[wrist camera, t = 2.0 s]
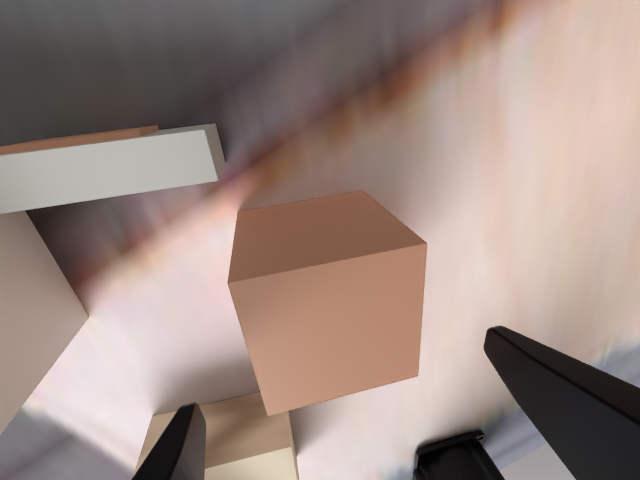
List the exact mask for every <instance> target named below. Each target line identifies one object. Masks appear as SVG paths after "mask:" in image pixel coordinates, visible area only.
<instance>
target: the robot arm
mask: <svg viewBox="0 0 640 480" xmlns="http://www.w3.org/2000/svg"><path fill="white" fill-rule="evenodd" d="M484 351H485V353H486V355H487V357H488V358H489V360H490V361H491V363H492V365H493V366H494V368H495V369H496V371H497V372H498V374H499V376H500V377H501V379H502V380H503V382H504V383H505V385H506V387H507V388H508V390H509V391H510V393H511V394H512V396H513V397H514V399H515V400H516V402H517V403H518V404H519V406H520V407H521V408H522V410H523V411H524V412H525V414H526V415H527V416H528V417H529V419H530V420H531V421H532V423H533V424H534V425H535V427H536V428H537V429H538V431H539V432H540V433H541V434H542V436H543V437H544V438H545V440H546V441H547V442H548V444H549V445H550V446H551V447H552V449H553V450H554V451H555V453H556V454H557V455H558V456H559V458H560V459H561V461H562V462H563V463H564V464H565V466H566V467H567V468H568V470H569V471H570V472H571V473H572V475H573V476H574V477H575V479H576V480H640V388H639V387H636V386H634V385H632V384H630V383H628V382H625V381H623V380H621V379H619V378H617V377H614V376H612V375H610V374H608V373H605V372H603V371H601V370H599V369H597V368H594V367H592V366H590V365H588V364H586V363H583V362H581V361H579V360H577V359H574V358H572V357H570V356H568V355H566V354H563V353H561V352H559V351H557V350H555V349H552V348H550V347H548V346H546V345H543V344H541V343H539V342H537V341H535V340H532V339H530V338H528V337H526V336H524V335H521V334H519V333H517V332H515V331H512V330H510V329H508V328H506V327H503V326H495V327H491V328H489V329H488V330H487V332H486V337H485V342H484ZM485 438H486V436H485V434H484V433H483V431H481V430H480V431H476V432H473V433H469V434H466V435H463V436H459V437H456V438H453V439H450V440H446V441H443V442H440V443H436V444H433V445H430V446H427V447H423V448H420V449H418V450H417V451H416V455H415V468H414V471H413V480H505V479H504V477H503V476H502V474H501V473H500V472H499V470H498V468H497V467H496V465H495V464H494V462H493V461H492V459H491V458H490V456H489V455H488V453H487V452H486V450H485V449H484V447H483V446H484V442H485ZM205 451H206V421H205V418H204V416H203V414H202V411H201V409H200V407H199V405H198V404H197V403H196V402H193V403H189V404H185V405H182V406H181V407H180V408H179V409H178V410H177V412H176V413H175V415H174V416H173V418H172V419H171V421H170V422H169V424H168V425H167V427H166V428H165V430H164V431H163V433H162V434H161V436H160V437H159V439H158V440H157V442H156V443H155V445H154V446H153V448H152V449H151V451H150V452H149V454H148V455H147V457H146V458H145V460H144V461H143V463H142V464H141V466H140V467H139V469H138V470H137V472H136V473H135V475H134V476H133V478H132V479H131V480H204V479H205Z"/></svg>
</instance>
